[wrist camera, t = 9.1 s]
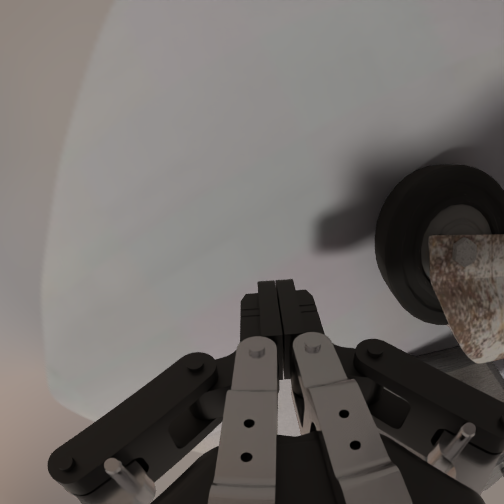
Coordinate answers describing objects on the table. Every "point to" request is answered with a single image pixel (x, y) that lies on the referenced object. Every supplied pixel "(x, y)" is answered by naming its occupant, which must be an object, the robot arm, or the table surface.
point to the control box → (473, 375)
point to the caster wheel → (448, 253)
